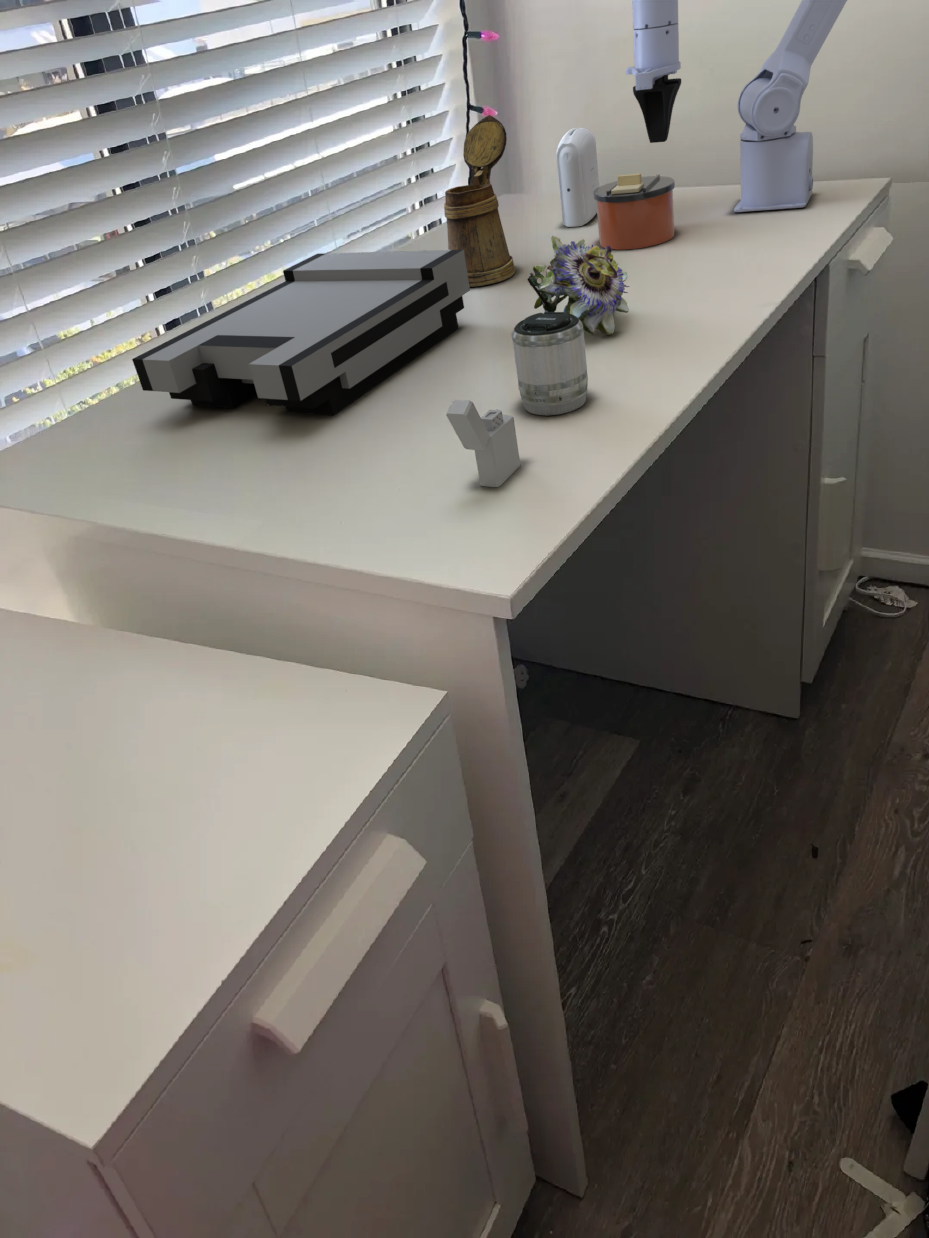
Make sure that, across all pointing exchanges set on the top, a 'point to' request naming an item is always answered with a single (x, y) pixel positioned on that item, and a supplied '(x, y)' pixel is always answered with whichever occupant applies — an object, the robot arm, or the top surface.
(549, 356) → the camera lens
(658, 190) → the orange lidded canister
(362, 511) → the top surface
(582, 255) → the passion flower
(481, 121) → the wooden mug
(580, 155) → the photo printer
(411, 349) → the game console
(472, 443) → the lighter
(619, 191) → the slider
